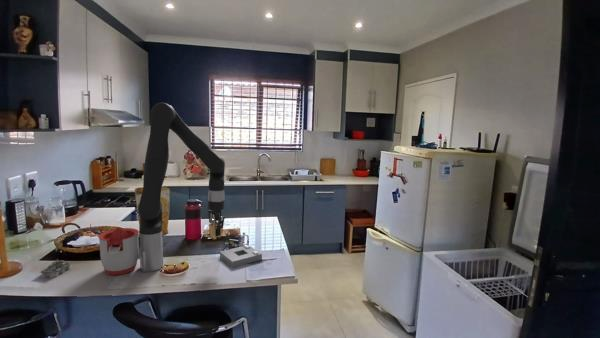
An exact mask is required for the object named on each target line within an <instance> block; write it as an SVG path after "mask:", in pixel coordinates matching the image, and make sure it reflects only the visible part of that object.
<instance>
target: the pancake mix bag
mask: <svg viewBox="0 0 600 338" xmlns="http://www.w3.org/2000/svg"><path fill="white" fill-rule="evenodd" d="M142 191H143V186H141V187H135V188H134V195H135V203H136V205H135V206H136V210H137V219H138V225H139V226H138V228H139V229H138V231H139V233H138V235H140V215H139V212H138V206H139V203H140V199H141V195H142ZM160 201H161V203H162V235H165V234H169V229H168V226H169V217H170V206H171V188H168V186H162V188H161V198H160Z"/></svg>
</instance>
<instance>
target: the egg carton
mask: <svg viewBox="0 0 600 338" xmlns="http://www.w3.org/2000/svg"><path fill="white" fill-rule="evenodd" d="M70 270H71V262H70V261H69V262H67V261H65V262H64V261H63V260H59V259H56V260H54V261H53V262H52V263H51V264H49V265H48V266H47V267H45V268H43V269H42V270H41V271H39V273H40V274H41V278H42V279H43V278H48V277H49V279H53V278H58V277H59V275H61V274H64V273H65V272H66V271H70Z"/></svg>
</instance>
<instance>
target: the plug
mask: <svg viewBox="0 0 600 338" xmlns="http://www.w3.org/2000/svg"><path fill="white" fill-rule="evenodd" d="M217 225H218V223H217ZM208 233H209V234H210V238H212V239H213V240H217V238H221V235H222V234H223V233H224V227H223V228H221V235H220V236H216V226H215V224H211V223H209V224H208Z"/></svg>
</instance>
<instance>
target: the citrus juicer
mask: <svg viewBox="0 0 600 338" xmlns="http://www.w3.org/2000/svg"><path fill="white" fill-rule="evenodd" d="M98 239H99V253H100V254H99V256H100V261H101V265H102V267H103V270H104V271H105V273H106V274H108V275H111V276H119V275H123V274H128V273H130V272H131V271H132V272H133V271H134V269H135V268H136V266H137V264H138V260H139V256H140V251H139V248H140V247H139V246H140V241H139V229H136V228H133V227H132V228H131V227H124V228H122V227H120V226H118V227H116V228H115V229H109V230H106V231H103V232H102V233H100V234H99V235H98Z"/></svg>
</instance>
